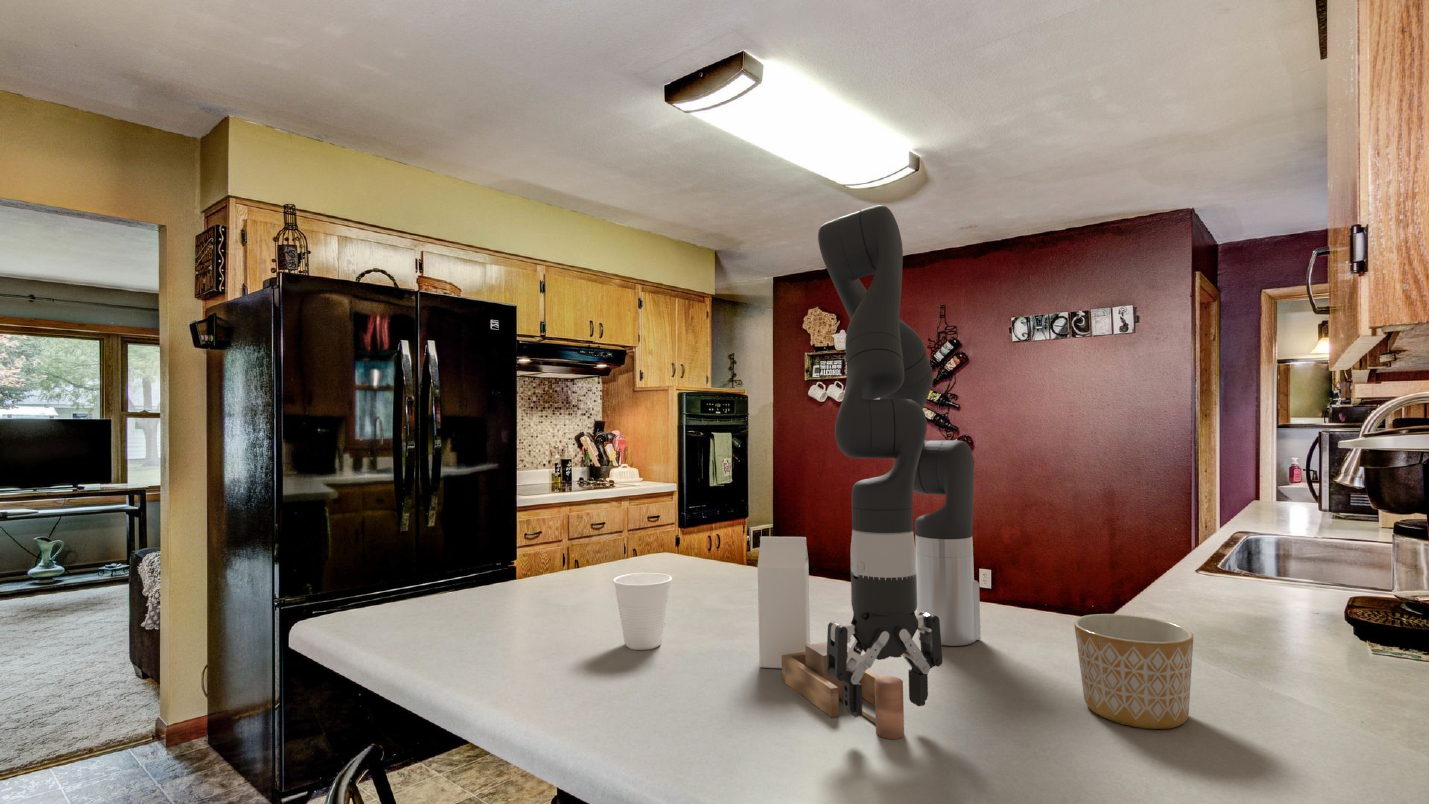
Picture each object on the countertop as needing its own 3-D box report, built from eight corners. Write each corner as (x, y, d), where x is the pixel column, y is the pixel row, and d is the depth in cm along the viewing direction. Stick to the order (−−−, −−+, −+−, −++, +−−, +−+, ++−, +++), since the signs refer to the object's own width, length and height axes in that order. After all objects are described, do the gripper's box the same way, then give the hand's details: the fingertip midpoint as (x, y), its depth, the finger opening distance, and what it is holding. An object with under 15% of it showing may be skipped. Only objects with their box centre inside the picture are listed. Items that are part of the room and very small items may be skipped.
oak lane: (781, 680, 99) (781, 655, 99) (831, 672, 102) (831, 648, 102) (831, 717, 86) (831, 688, 86) (887, 707, 89) (886, 679, 89)
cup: (602, 650, 114) (601, 582, 115) (631, 633, 123) (630, 571, 124) (656, 657, 110) (655, 586, 111) (682, 639, 120) (681, 574, 120)
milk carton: (807, 670, 103) (804, 540, 104) (759, 668, 104) (756, 540, 105) (810, 655, 110) (807, 533, 111) (765, 653, 111) (763, 533, 112)
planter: (1200, 744, 77) (1196, 648, 78) (1072, 720, 84) (1069, 632, 84) (1194, 705, 88) (1190, 621, 88) (1081, 687, 95) (1078, 609, 95)
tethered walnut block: (806, 689, 95) (805, 644, 96) (838, 684, 97) (837, 640, 97) (879, 742, 79) (878, 688, 79) (916, 735, 81) (915, 682, 81)
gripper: (914, 559, 88) (917, 690, 87) (814, 567, 83) (816, 706, 83) (954, 569, 81) (958, 712, 80) (846, 579, 76) (849, 731, 75)
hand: (886, 709), depth 81 cm, fingers open, 8 cm apart
